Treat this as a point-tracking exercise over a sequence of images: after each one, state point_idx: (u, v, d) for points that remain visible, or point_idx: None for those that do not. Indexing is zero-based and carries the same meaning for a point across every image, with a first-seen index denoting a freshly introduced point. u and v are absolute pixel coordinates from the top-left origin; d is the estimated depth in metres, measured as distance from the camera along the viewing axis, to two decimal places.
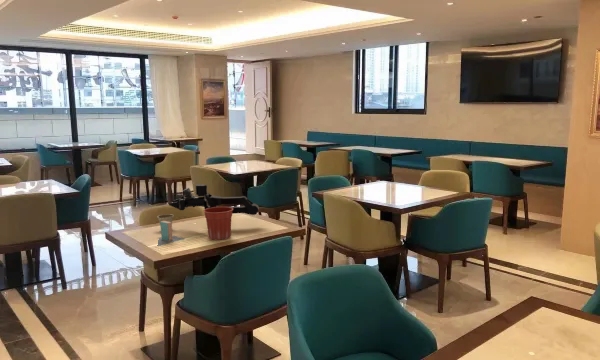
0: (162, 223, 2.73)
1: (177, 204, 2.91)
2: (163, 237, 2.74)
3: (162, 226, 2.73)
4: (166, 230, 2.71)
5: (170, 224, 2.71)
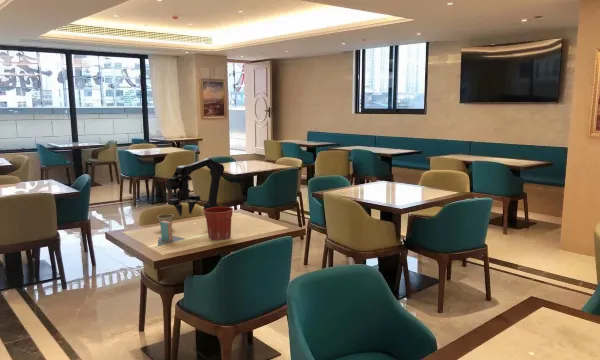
0: (162, 223, 2.73)
1: (178, 207, 2.79)
2: (163, 237, 2.74)
3: (162, 226, 2.73)
4: (166, 230, 2.71)
5: (170, 224, 2.71)
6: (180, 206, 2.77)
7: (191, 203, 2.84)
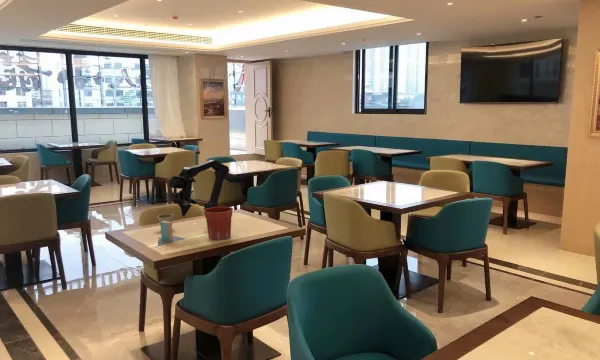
0: (162, 223, 2.73)
1: (183, 207, 2.81)
2: (163, 237, 2.74)
3: (162, 226, 2.73)
4: (166, 230, 2.71)
5: (170, 224, 2.71)
6: (187, 206, 2.80)
7: None
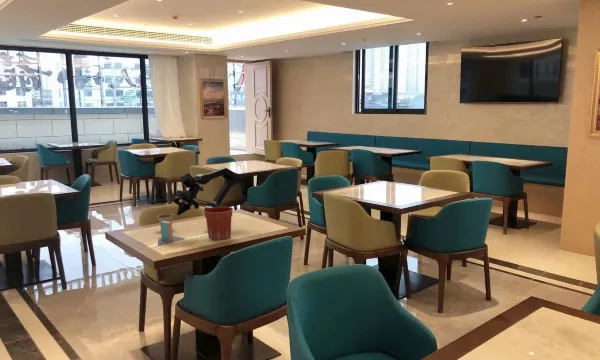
0: (162, 223, 2.73)
1: (184, 207, 2.80)
2: (163, 237, 2.74)
3: (162, 226, 2.73)
4: (166, 230, 2.71)
5: (170, 224, 2.71)
6: None
7: None
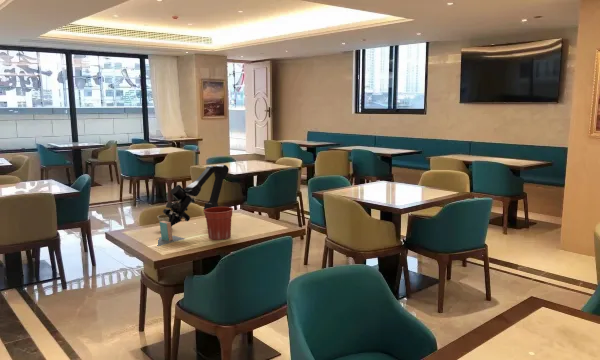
0: (161, 223, 2.72)
1: (174, 219, 2.76)
2: (163, 237, 2.74)
3: (161, 226, 2.73)
4: (166, 230, 2.71)
5: (169, 224, 2.71)
6: None
7: None
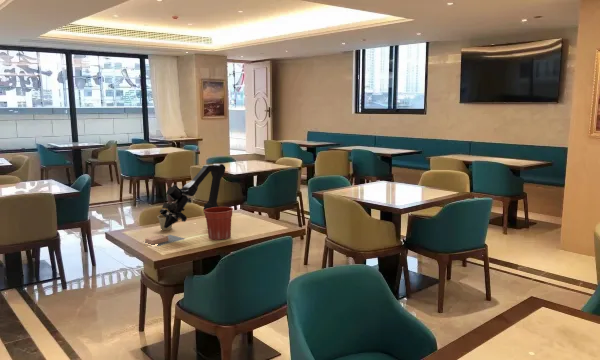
0: None
1: (171, 220, 2.74)
2: None
3: None
4: None
5: (154, 241, 2.64)
6: None
7: None
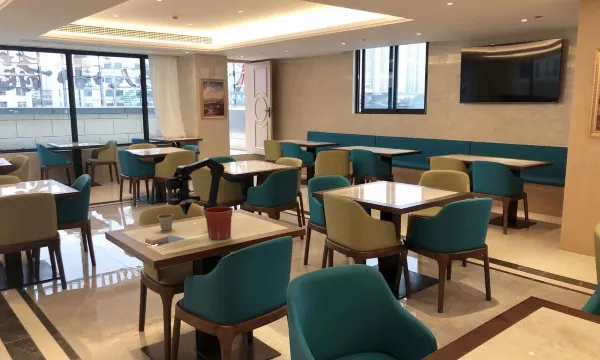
0: None
1: (183, 206, 2.81)
2: None
3: None
4: None
5: (154, 241, 2.64)
6: (185, 205, 2.79)
7: (187, 204, 2.82)
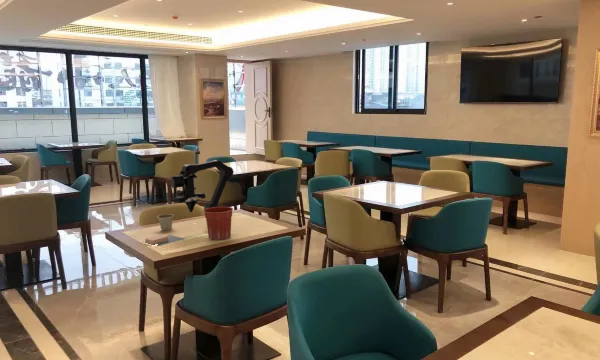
0: None
1: (188, 203, 2.88)
2: None
3: None
4: None
5: (154, 241, 2.64)
6: (190, 203, 2.86)
7: (192, 201, 2.89)
